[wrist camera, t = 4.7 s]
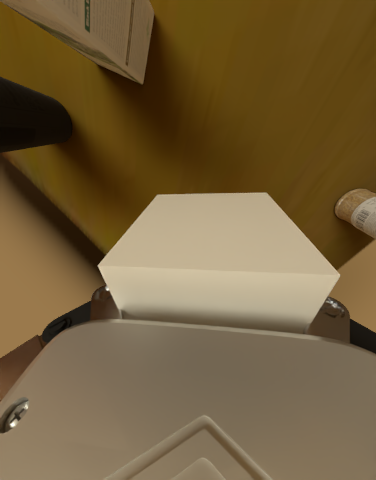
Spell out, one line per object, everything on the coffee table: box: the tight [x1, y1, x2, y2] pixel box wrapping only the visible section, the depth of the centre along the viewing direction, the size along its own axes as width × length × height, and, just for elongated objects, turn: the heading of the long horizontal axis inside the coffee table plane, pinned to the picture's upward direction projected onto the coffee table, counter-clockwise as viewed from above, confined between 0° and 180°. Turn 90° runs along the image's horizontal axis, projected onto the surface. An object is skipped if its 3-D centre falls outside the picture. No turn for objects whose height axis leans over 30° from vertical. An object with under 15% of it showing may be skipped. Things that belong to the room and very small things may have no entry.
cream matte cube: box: [98, 193, 340, 334], centre depth 11 cm, size 8×8×8 cm
